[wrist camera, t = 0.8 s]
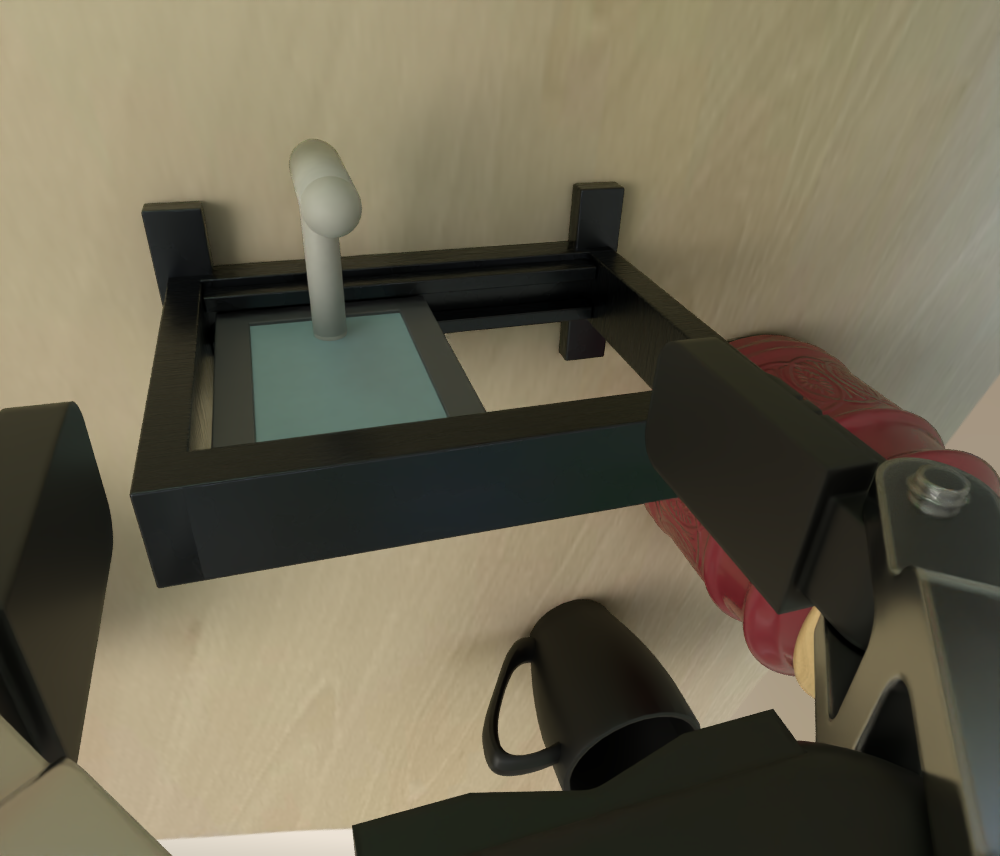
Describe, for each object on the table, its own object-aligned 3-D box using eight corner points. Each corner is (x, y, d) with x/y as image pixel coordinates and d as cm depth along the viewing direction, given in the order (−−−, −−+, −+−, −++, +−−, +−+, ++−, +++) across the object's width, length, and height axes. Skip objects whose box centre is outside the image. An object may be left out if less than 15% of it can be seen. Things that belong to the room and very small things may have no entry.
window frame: (615, 181, 32) (836, 319, 20) (596, 347, 36) (768, 539, 25) (143, 203, 27) (78, 402, 15) (186, 393, 31) (161, 660, 20)
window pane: (419, 116, 26) (512, 203, 18) (423, 308, 30) (501, 456, 22) (179, 121, 24) (151, 222, 16) (218, 327, 28) (213, 498, 20)
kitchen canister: (659, 555, 46) (850, 827, 32) (597, 404, 38) (812, 677, 24) (842, 455, 46) (1113, 682, 32) (817, 284, 38) (1162, 485, 24)
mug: (468, 584, 42) (521, 725, 35) (646, 582, 47) (726, 706, 39) (437, 682, 46) (478, 829, 39) (604, 672, 51) (669, 801, 43)
